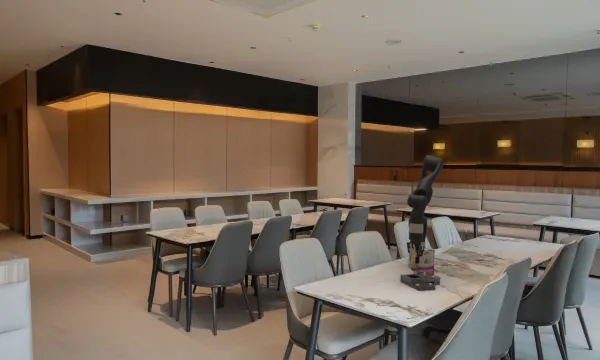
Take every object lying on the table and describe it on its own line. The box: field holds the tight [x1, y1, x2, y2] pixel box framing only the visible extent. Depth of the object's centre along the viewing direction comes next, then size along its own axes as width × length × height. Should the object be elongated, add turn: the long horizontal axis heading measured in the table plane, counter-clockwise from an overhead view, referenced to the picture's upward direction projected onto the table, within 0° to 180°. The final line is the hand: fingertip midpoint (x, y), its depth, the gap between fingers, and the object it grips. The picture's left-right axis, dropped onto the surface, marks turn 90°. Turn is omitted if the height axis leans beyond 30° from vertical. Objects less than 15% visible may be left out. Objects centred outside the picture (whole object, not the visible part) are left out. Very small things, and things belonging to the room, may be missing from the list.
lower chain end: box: [399, 277, 436, 292], centre depth 240 cm, size 18×10×3 cm, turn 20°
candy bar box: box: [412, 247, 436, 275], centre depth 260 cm, size 11×5×16 cm, turn 105°
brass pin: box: [410, 248, 419, 272], centre depth 243 cm, size 4×4×12 cm
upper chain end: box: [399, 272, 441, 286], centre depth 246 cm, size 10×19×5 cm, turn 110°
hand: (414, 262), depth 244 cm, fingers closed on brass pin, 4 cm apart
